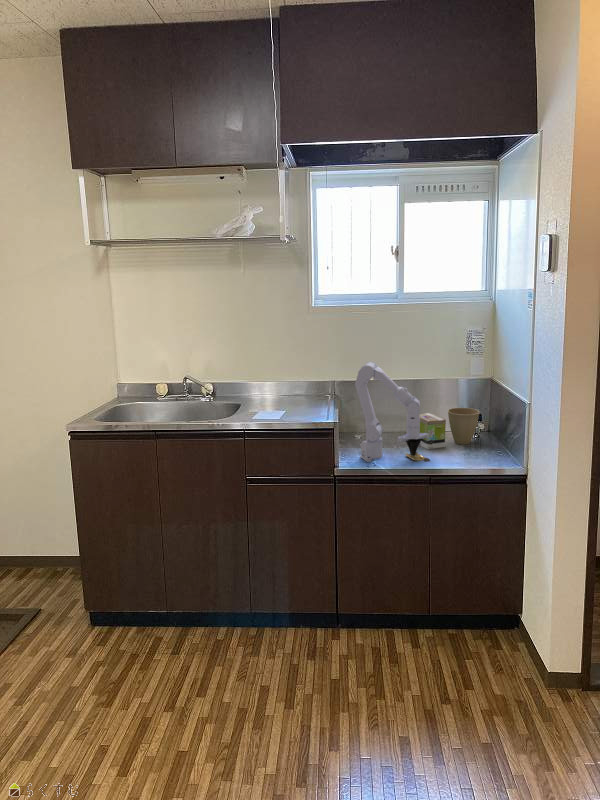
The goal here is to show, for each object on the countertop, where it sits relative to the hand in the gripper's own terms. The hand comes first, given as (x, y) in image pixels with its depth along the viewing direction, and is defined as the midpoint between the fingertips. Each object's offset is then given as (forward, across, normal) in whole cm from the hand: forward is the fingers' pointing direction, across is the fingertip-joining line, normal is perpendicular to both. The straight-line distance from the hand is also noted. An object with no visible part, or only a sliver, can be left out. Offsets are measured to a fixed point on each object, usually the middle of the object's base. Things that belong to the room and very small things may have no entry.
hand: (412, 455), depth 273 cm
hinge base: (+3, +8, 0) cm, 8 cm away
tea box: (+3, +18, +16) cm, 25 cm away
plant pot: (+3, +36, +14) cm, 39 cm away
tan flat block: (+2, +1, 0) cm, 2 cm away
